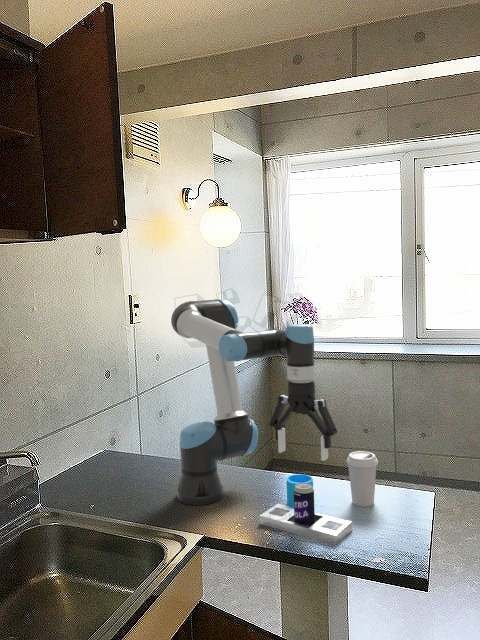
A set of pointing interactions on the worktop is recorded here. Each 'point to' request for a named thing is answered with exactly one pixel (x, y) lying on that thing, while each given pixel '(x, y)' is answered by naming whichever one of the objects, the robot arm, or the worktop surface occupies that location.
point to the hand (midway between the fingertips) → (302, 455)
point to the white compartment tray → (321, 530)
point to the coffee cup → (362, 477)
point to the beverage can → (304, 504)
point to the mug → (294, 480)
